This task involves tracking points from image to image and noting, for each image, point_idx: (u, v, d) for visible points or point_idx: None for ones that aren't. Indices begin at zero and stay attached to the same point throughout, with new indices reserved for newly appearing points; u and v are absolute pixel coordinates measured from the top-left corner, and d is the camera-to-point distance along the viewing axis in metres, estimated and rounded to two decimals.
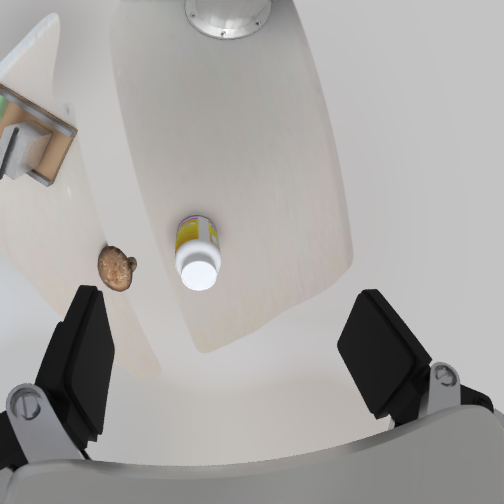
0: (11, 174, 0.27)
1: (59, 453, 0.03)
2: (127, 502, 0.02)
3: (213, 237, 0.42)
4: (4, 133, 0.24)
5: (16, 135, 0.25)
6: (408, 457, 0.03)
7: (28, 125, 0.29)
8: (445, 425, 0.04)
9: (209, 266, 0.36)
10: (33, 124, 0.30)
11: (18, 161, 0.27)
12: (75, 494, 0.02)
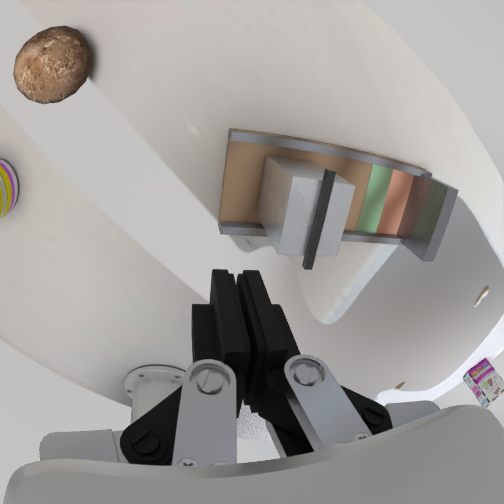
0: (301, 185, 0.19)
1: (216, 435, 0.05)
2: (127, 502, 0.02)
3: None
4: (334, 246, 0.22)
5: (306, 253, 0.22)
6: (409, 457, 0.03)
7: None
8: (445, 425, 0.04)
9: None
10: None
11: (289, 214, 0.20)
12: (75, 493, 0.02)
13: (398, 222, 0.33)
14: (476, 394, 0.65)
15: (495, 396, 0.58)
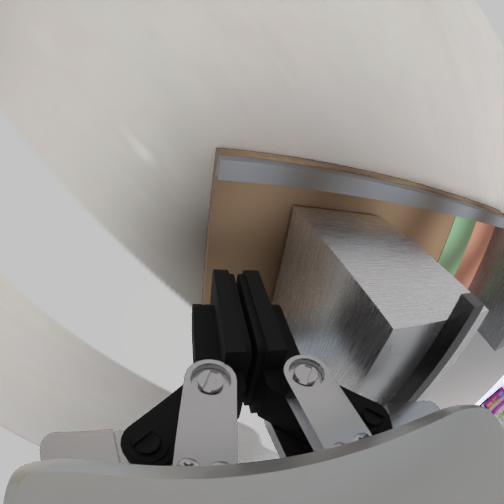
0: (403, 343, 0.06)
1: (217, 435, 0.05)
2: (127, 502, 0.02)
3: None
4: None
5: None
6: (409, 457, 0.03)
7: None
8: (445, 425, 0.04)
9: None
10: None
11: None
12: (76, 494, 0.02)
13: None
14: None
15: None
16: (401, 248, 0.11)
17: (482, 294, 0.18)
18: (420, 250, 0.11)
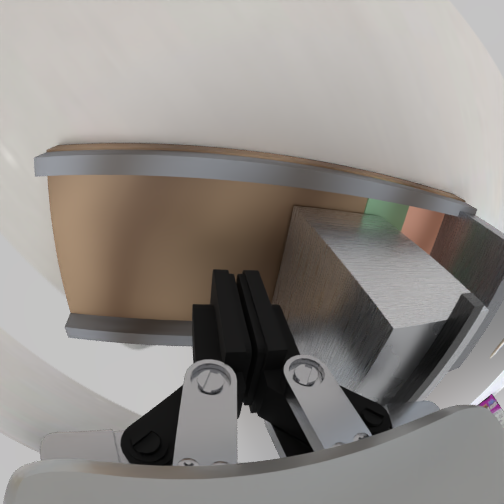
0: (403, 342, 0.06)
1: (217, 435, 0.05)
2: (127, 502, 0.02)
3: None
4: None
5: None
6: (408, 457, 0.03)
7: None
8: (445, 425, 0.04)
9: None
10: None
11: (359, 394, 0.07)
12: (75, 494, 0.02)
13: None
14: None
15: None
16: (401, 248, 0.11)
17: None
18: (420, 250, 0.11)
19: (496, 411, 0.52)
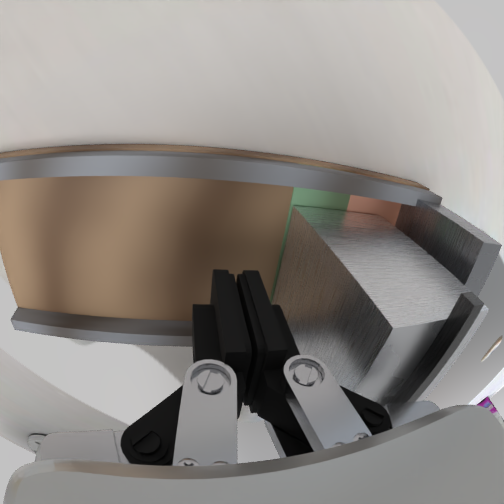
0: (403, 342, 0.06)
1: (217, 435, 0.05)
2: (127, 502, 0.02)
3: None
4: None
5: None
6: (409, 457, 0.03)
7: None
8: (445, 425, 0.04)
9: None
10: None
11: (359, 394, 0.07)
12: (76, 494, 0.02)
13: None
14: None
15: None
16: (401, 247, 0.11)
17: None
18: (420, 249, 0.11)
19: None
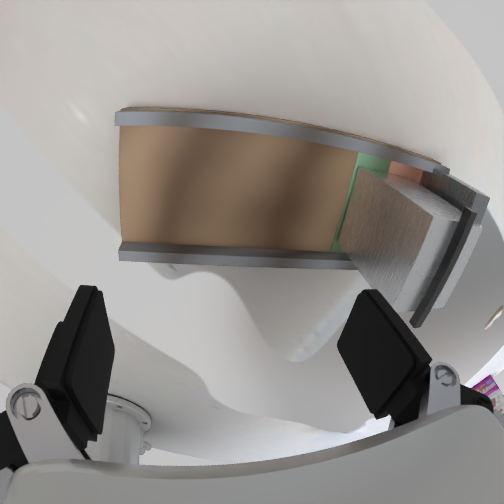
0: (438, 228, 0.12)
1: (59, 453, 0.03)
2: (127, 502, 0.02)
3: None
4: (445, 297, 0.15)
5: (417, 308, 0.15)
6: (409, 457, 0.03)
7: None
8: (445, 425, 0.04)
9: None
10: None
11: (416, 265, 0.13)
12: (75, 494, 0.02)
13: None
14: None
15: None
16: (427, 193, 0.16)
17: None
18: (438, 197, 0.16)
19: (494, 391, 0.57)
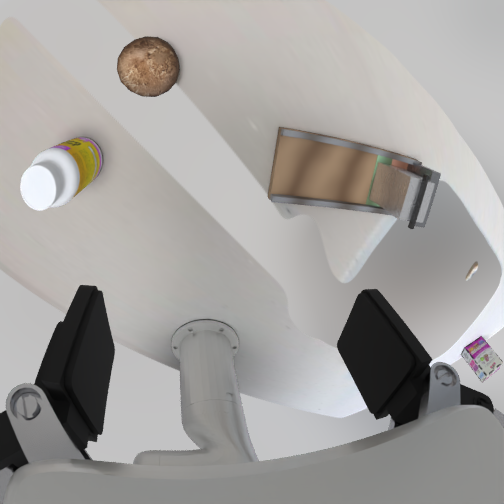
0: (413, 182, 0.32)
1: (59, 453, 0.03)
2: (127, 502, 0.02)
3: None
4: (423, 217, 0.35)
5: (410, 219, 0.35)
6: (409, 457, 0.03)
7: None
8: (445, 425, 0.04)
9: (36, 207, 0.22)
10: None
11: (407, 197, 0.33)
12: (76, 494, 0.02)
13: None
14: (474, 369, 0.75)
15: (491, 370, 0.68)
16: (409, 172, 0.36)
17: None
18: (415, 174, 0.36)
19: (486, 349, 0.76)
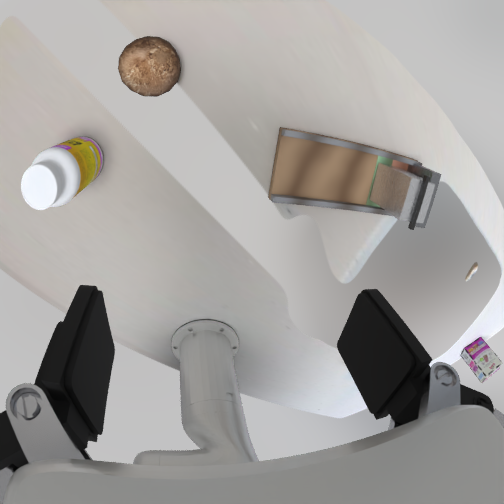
0: (414, 182, 0.32)
1: (59, 453, 0.03)
2: (127, 502, 0.02)
3: None
4: (423, 217, 0.35)
5: (410, 220, 0.35)
6: (409, 457, 0.03)
7: None
8: (445, 425, 0.04)
9: (37, 207, 0.22)
10: None
11: (407, 197, 0.33)
12: (75, 494, 0.02)
13: None
14: (473, 369, 0.75)
15: (491, 371, 0.68)
16: (410, 173, 0.36)
17: None
18: (415, 175, 0.37)
19: (486, 349, 0.76)
